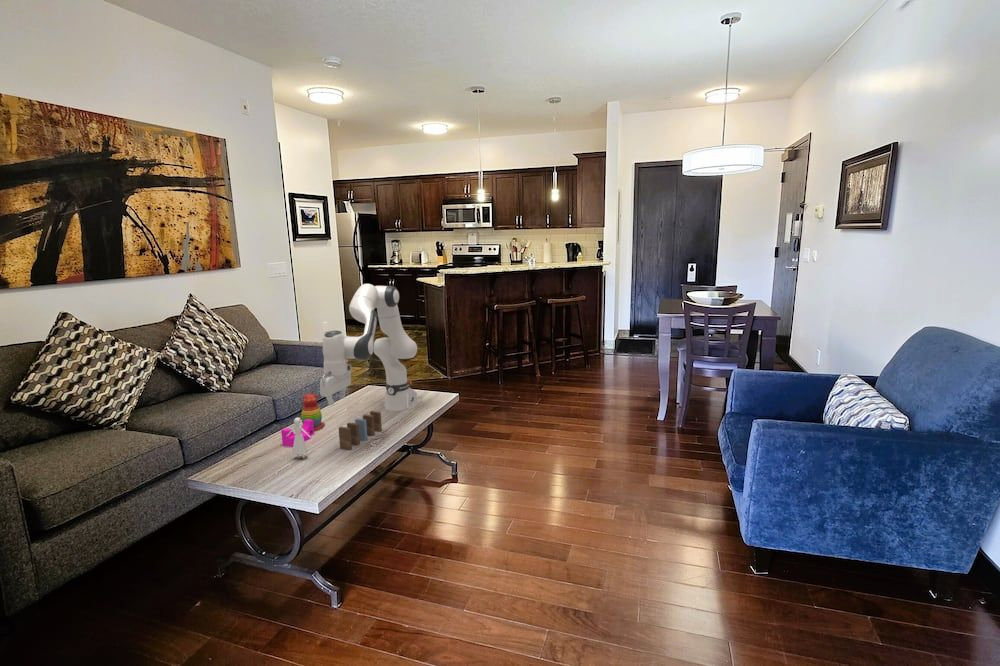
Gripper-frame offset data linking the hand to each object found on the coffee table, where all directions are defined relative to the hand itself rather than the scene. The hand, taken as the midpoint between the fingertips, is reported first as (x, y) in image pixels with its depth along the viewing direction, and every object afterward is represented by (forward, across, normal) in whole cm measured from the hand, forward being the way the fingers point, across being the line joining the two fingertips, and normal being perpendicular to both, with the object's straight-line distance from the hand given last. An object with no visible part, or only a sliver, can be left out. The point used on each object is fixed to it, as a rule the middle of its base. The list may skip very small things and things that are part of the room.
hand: (336, 401), depth 202 cm
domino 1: (+23, +4, -1) cm, 23 cm away
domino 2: (+23, +9, -2) cm, 24 cm away
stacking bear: (+23, +24, +27) cm, 43 cm away
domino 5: (+22, +25, -6) cm, 34 cm away
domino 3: (+23, +14, -4) cm, 27 cm away
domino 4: (+22, +20, -5) cm, 30 cm away
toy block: (+23, +10, +25) cm, 36 cm away
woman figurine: (+24, -7, +14) cm, 28 cm away
